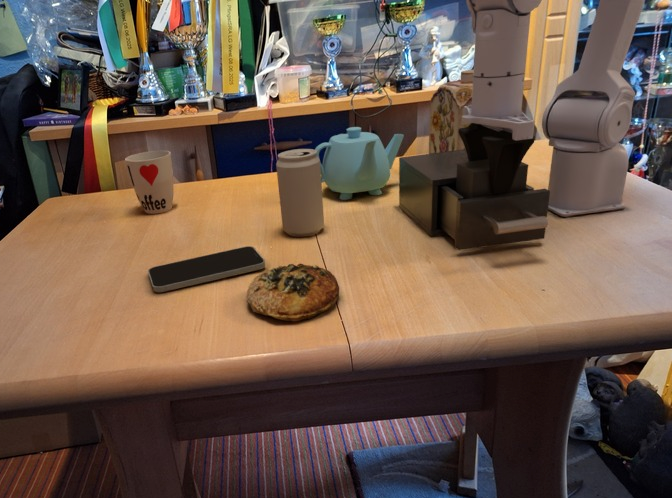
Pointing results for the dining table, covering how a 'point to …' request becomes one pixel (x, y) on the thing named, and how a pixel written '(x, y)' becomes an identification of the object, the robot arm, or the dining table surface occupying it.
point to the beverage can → (300, 192)
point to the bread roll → (293, 292)
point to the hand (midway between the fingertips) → (490, 186)
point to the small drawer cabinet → (426, 185)
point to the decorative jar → (449, 113)
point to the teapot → (357, 162)
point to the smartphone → (205, 268)
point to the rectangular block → (484, 179)
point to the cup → (152, 180)
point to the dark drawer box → (492, 217)
